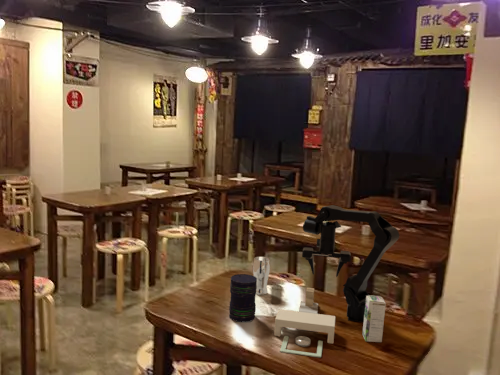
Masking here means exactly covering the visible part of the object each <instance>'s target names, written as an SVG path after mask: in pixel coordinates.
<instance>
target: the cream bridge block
mask: <svg viewBox="0 0 500 375" xmlns="http://www.w3.org/2000/svg"><path fill="white" fill-rule="evenodd" d="M283 328H286V329H287V328H288V329H295V330H299V329H302V330H301V331H307V330H309V332H315V331H316V333H317V332H318V333H319V332H320V333H326V334H327V342H326V343H328V344H334V341H335V340H334V339H335V328H336V316H335V315H330V314H322V313H321V314H320V313H317V314H314V313H306V312H299V310H298V311H297V310H289V309H281V308H279V309H278V311H277V313H276V315H275V320H274V333H273V334H274V337H281V334H282V329H283Z"/></svg>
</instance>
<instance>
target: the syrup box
mask: <svg viewBox="0 0 500 375" xmlns="http://www.w3.org/2000/svg"><path fill="white" fill-rule="evenodd" d="M386 304H387V302H385V299H384V297H383V296H381V295H369V296H366V304H365V313H364V322H362V323H363V324H362V325H363V326H362V336H363V339H364V341H365V342H368V343H369V342H370V343H371V342H373V343H374V342H375V343H382V342H383V334H384V333H383V332H384V321H385V313H386Z"/></svg>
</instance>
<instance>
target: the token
mask: <svg viewBox="0 0 500 375" xmlns="http://www.w3.org/2000/svg"><path fill="white" fill-rule="evenodd" d="M294 342H295V344H296V345H297V346H299V347H303V348H304V347H305V348H306V347H309V346H311V338H309V337H307V336H305V335H303V336H302V335H299V336H296V337H295V341H294Z"/></svg>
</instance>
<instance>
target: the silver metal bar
mask: <svg viewBox="0 0 500 375" xmlns="http://www.w3.org/2000/svg"><path fill="white" fill-rule="evenodd" d="M314 296H315V287H314V288H312V287H306V291H305V301H300V304H299V308H298V309H299V310H298V312H306V313H314V314H318V312H319V310H318V309H319V303H317V302H314V299H315V298H314ZM298 330H301V331H303V330H302V329H298ZM306 331H309V330H306ZM309 332H310V331H309ZM314 332H316V333H317V331H314Z"/></svg>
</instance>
